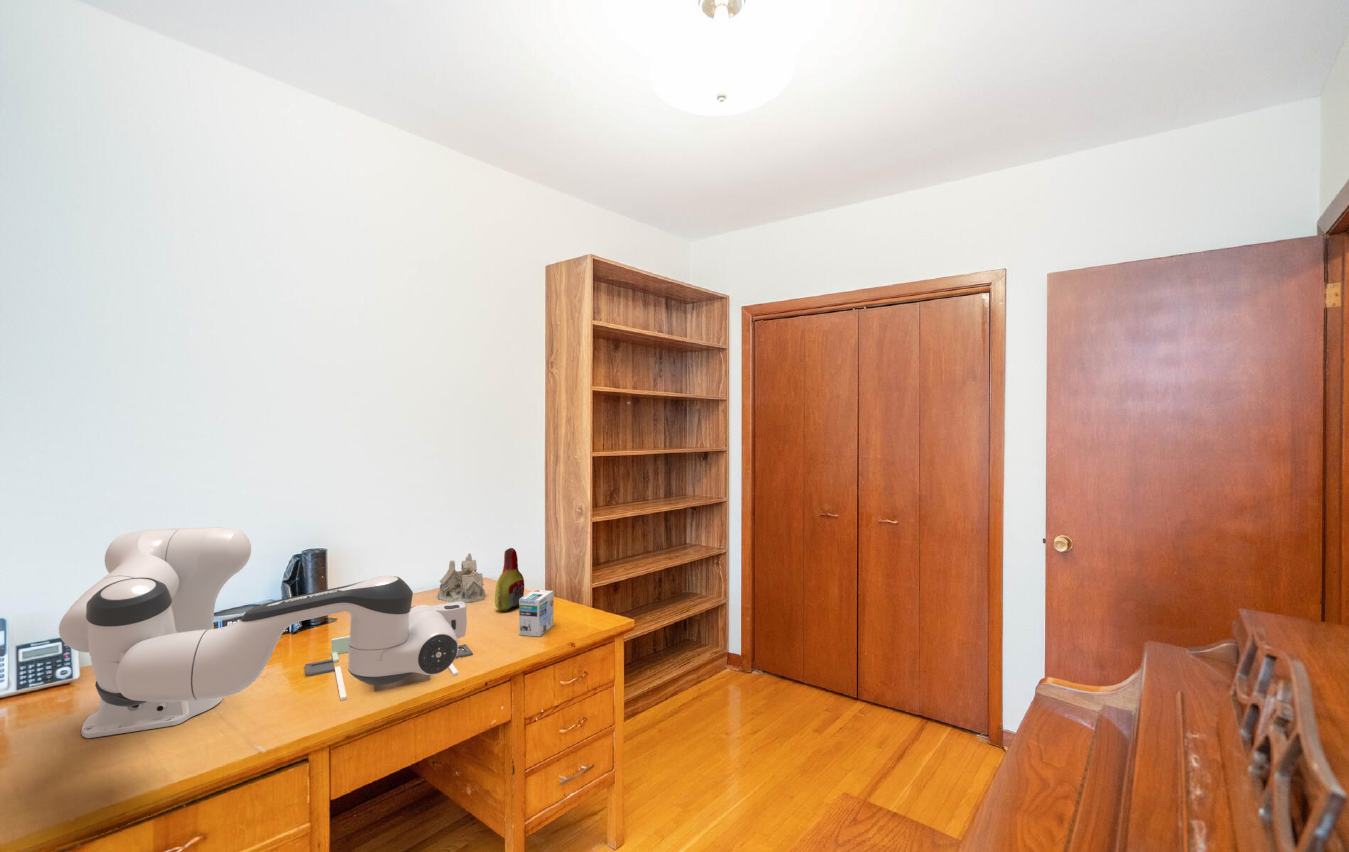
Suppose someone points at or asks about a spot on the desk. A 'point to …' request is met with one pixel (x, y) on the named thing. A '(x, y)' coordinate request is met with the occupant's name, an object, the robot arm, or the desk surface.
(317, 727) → the desk surface
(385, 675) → the robot arm
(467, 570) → the ceramic cottage
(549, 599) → the light bulb box
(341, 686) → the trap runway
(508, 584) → the bottle
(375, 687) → the walnut block
